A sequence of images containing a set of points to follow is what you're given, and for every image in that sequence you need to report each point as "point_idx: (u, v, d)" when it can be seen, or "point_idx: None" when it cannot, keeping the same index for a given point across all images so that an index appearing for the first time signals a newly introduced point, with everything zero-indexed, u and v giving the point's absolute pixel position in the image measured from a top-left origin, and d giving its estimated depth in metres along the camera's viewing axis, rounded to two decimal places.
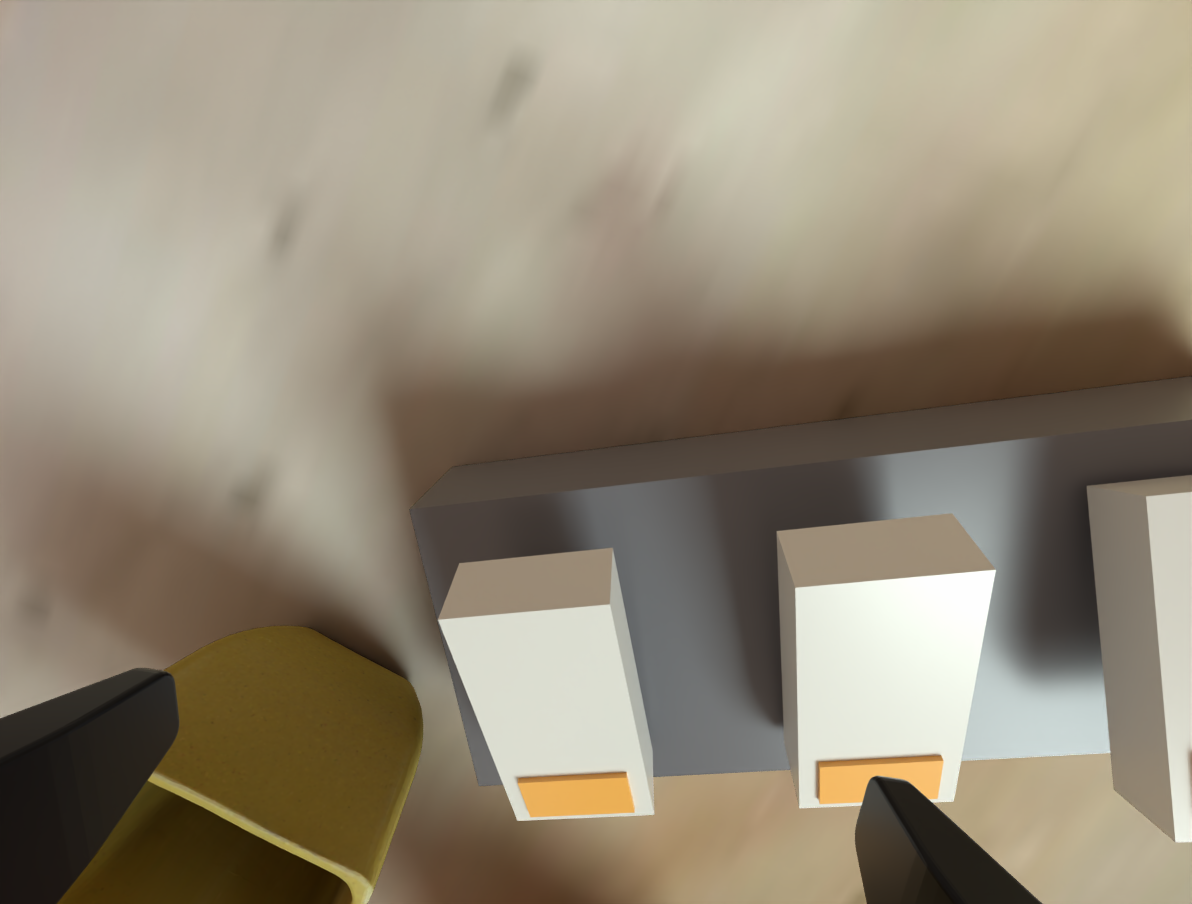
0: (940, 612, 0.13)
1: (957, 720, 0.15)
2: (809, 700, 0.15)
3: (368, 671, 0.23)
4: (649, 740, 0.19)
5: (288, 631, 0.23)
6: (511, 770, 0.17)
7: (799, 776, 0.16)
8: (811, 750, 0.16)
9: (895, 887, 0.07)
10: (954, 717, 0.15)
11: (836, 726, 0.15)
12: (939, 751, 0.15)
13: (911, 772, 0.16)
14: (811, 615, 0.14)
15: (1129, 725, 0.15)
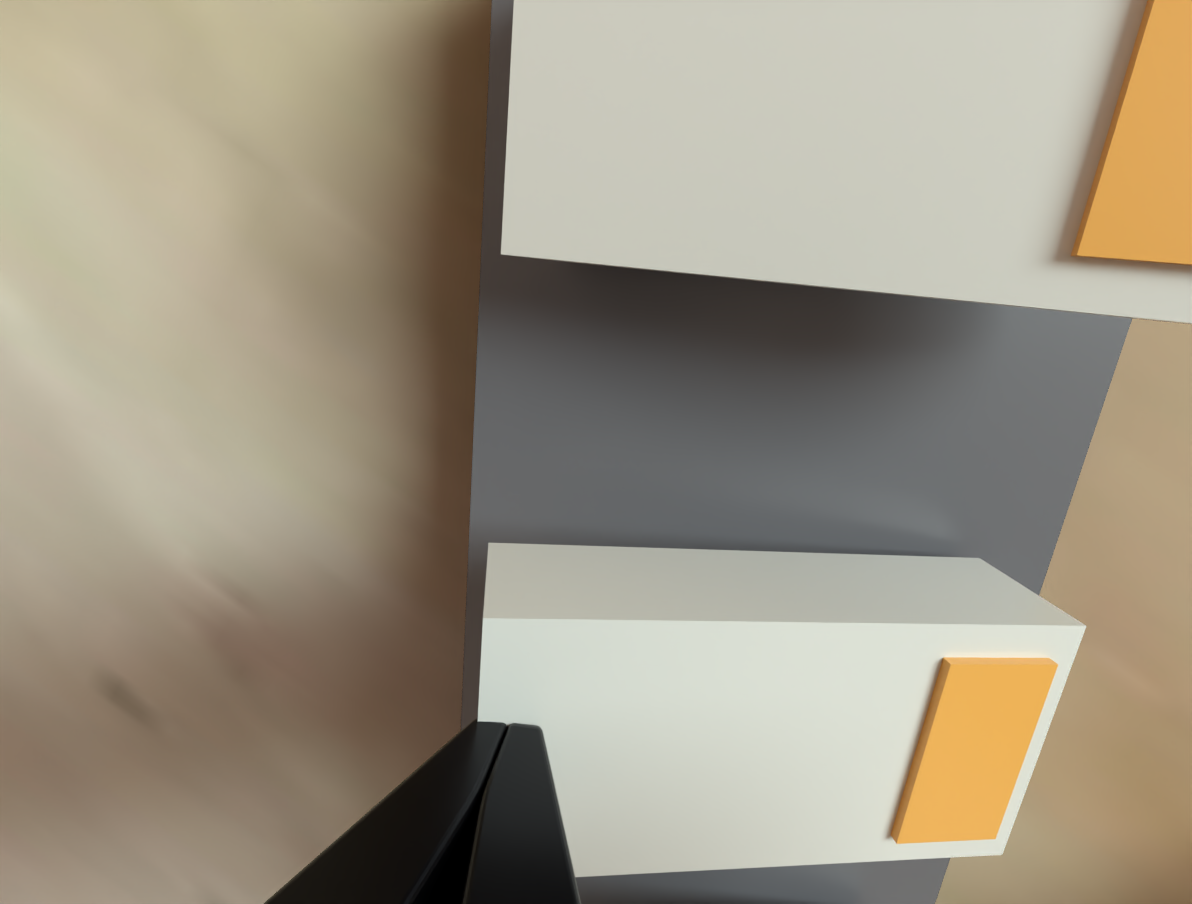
0: (567, 690, 0.08)
1: (854, 640, 0.08)
2: (731, 854, 0.09)
3: None
4: None
5: None
6: None
7: (918, 858, 0.09)
8: (857, 845, 0.09)
9: None
10: (845, 645, 0.08)
11: (807, 815, 0.09)
12: (929, 662, 0.08)
13: (964, 711, 0.08)
14: None
15: None
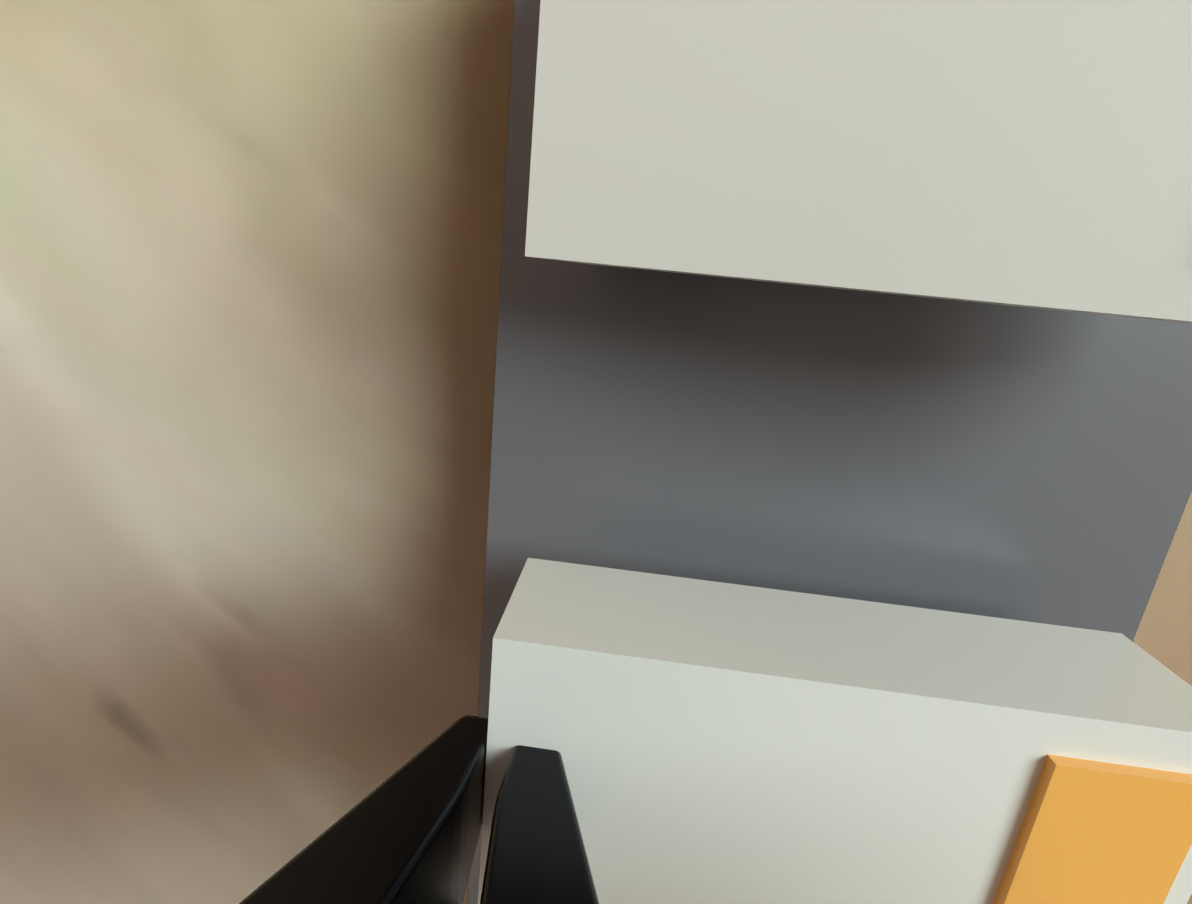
0: (580, 725, 0.07)
1: (925, 717, 0.07)
2: None
3: None
4: None
5: None
6: None
7: None
8: None
9: None
10: (913, 721, 0.07)
11: None
12: (1028, 758, 0.07)
13: (1075, 826, 0.07)
14: None
15: (1128, 316, 0.06)
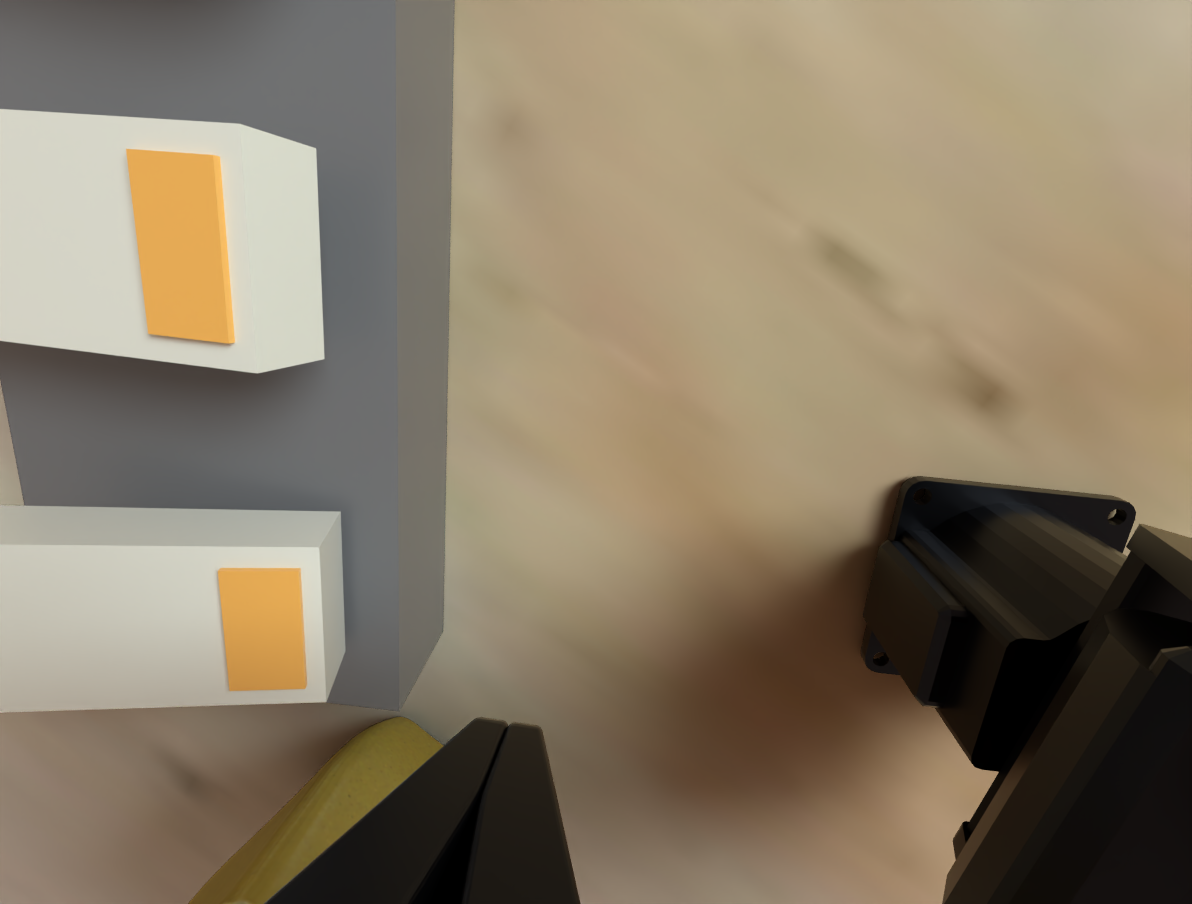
0: None
1: (63, 129, 0.10)
2: (43, 331, 0.12)
3: None
4: (304, 514, 0.15)
5: None
6: (214, 692, 0.14)
7: (186, 363, 0.11)
8: (132, 340, 0.11)
9: None
10: (59, 134, 0.10)
11: (85, 301, 0.11)
12: (123, 153, 0.10)
13: (153, 198, 0.10)
14: None
15: None
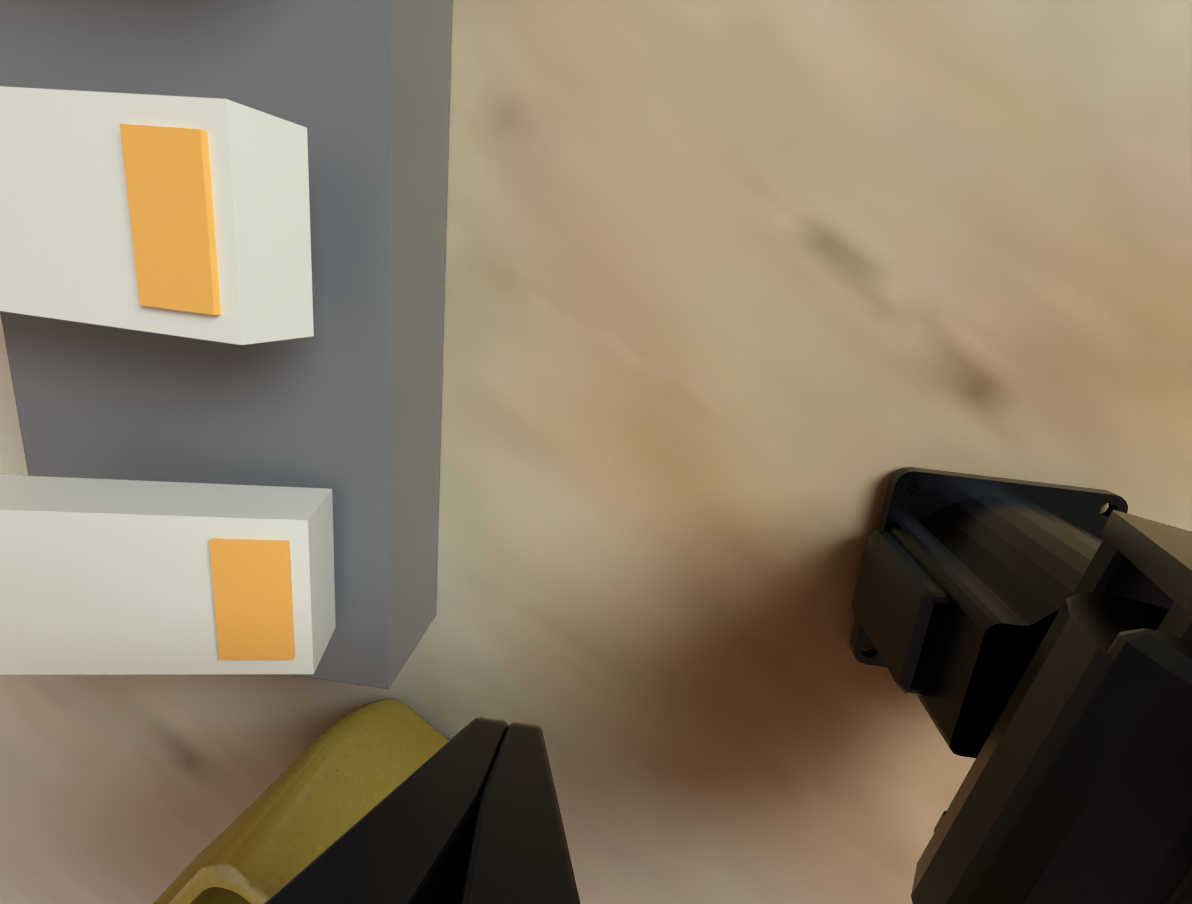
0: None
1: (62, 105, 0.11)
2: (44, 302, 0.12)
3: None
4: (296, 490, 0.15)
5: None
6: (205, 660, 0.14)
7: (176, 334, 0.11)
8: (125, 311, 0.12)
9: None
10: (59, 110, 0.11)
11: (82, 273, 0.12)
12: (117, 129, 0.11)
13: (144, 172, 0.11)
14: None
15: None
